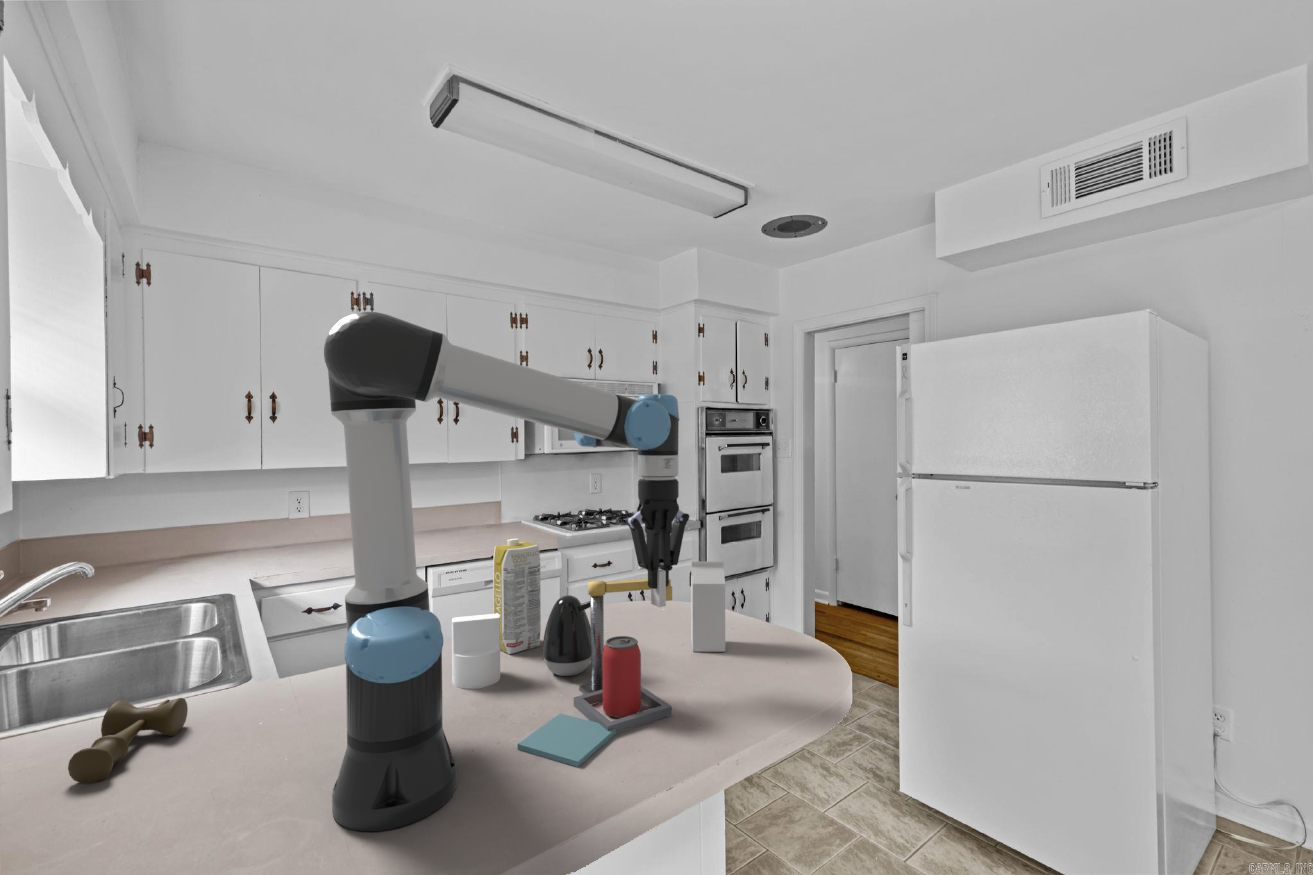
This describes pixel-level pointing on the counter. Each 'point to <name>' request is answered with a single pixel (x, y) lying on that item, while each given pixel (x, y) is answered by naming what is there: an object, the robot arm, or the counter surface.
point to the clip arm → (623, 587)
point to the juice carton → (517, 595)
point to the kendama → (124, 736)
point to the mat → (566, 739)
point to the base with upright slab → (475, 651)
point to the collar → (625, 723)
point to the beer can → (621, 677)
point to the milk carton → (708, 607)
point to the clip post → (596, 645)
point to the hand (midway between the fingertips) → (658, 604)
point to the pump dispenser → (567, 637)
